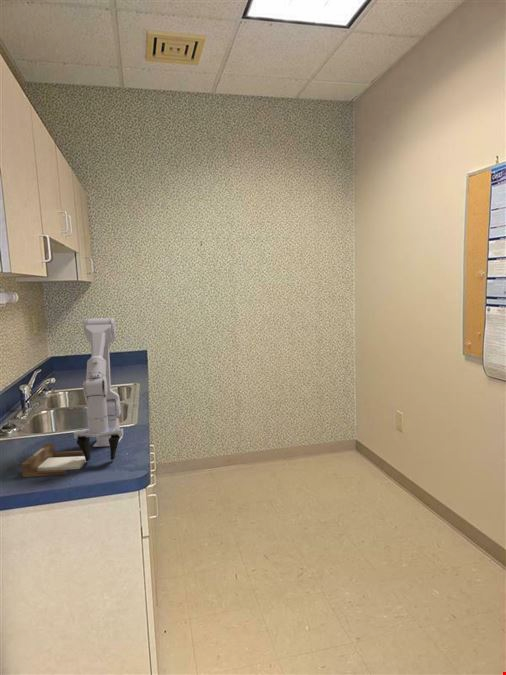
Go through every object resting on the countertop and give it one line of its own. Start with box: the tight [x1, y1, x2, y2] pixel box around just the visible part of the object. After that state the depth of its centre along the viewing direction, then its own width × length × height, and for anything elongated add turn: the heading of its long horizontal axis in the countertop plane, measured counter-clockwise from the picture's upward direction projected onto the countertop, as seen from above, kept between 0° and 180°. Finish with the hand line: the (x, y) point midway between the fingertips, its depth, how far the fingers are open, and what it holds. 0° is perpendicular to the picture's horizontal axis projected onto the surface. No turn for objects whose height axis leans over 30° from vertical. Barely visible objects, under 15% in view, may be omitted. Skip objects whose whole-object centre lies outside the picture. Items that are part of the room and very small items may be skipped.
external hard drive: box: [38, 455, 87, 471], centre depth 134 cm, size 2×8×12 cm
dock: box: [21, 442, 84, 478], centre depth 134 cm, size 17×12×4 cm
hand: (100, 459), depth 135 cm, fingers open, 7 cm apart
